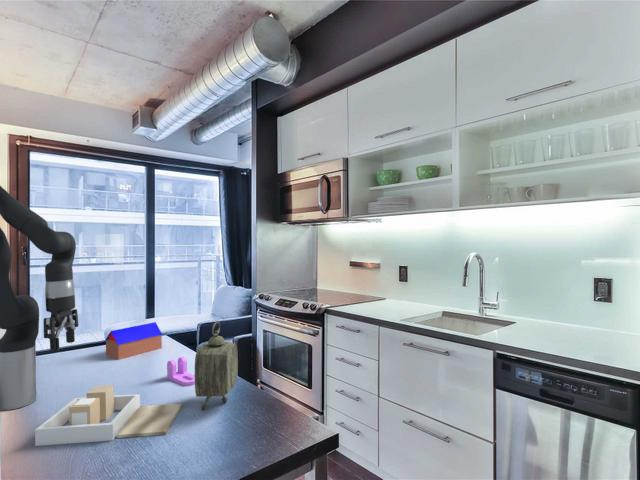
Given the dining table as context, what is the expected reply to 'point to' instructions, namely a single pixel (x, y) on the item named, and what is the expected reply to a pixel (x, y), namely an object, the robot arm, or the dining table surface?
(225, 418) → the dining table surface
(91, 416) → the labelled box
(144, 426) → the board
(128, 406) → the bin
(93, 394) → the plain box
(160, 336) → the house
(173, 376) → the bracket
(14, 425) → the dining table surface
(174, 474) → the dining table surface
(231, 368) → the tabletop clock
